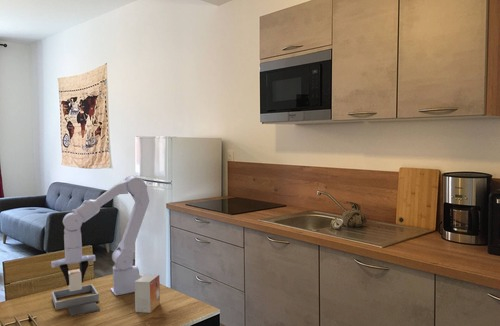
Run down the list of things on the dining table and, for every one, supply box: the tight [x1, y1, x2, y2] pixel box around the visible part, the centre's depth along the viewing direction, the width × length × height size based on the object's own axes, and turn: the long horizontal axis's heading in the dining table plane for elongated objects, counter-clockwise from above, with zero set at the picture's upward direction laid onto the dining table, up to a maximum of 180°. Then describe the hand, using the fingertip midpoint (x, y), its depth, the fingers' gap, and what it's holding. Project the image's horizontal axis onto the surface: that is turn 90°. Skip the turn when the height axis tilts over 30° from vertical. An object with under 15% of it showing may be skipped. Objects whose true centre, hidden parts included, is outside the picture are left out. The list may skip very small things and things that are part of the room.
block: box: [67, 268, 83, 291], centre depth 146 cm, size 4×5×6 cm
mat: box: [66, 301, 100, 318], centre depth 137 cm, size 9×8×1 cm
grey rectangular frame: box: [51, 283, 100, 311], centre depth 146 cm, size 14×12×2 cm
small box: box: [134, 273, 161, 314], centre depth 137 cm, size 8×6×10 cm
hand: (74, 283), depth 146 cm, fingers closed on block, 4 cm apart
